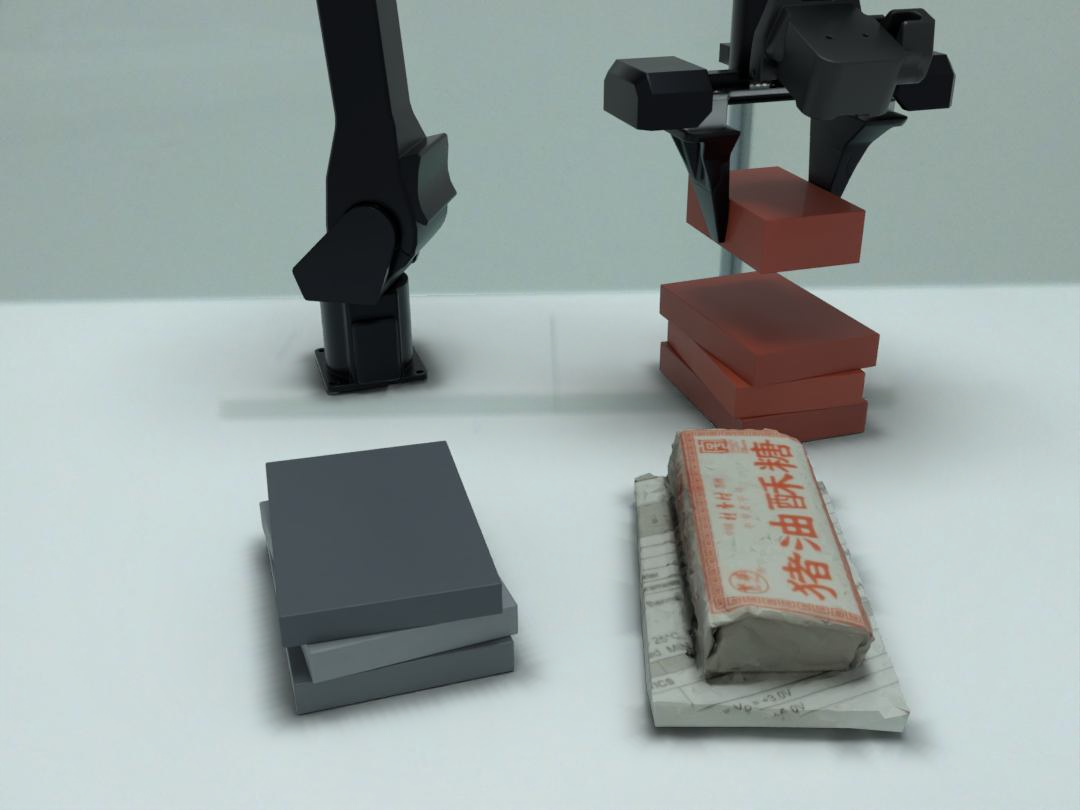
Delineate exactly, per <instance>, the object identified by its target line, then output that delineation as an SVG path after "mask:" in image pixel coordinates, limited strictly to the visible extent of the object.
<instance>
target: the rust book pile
mask: <svg viewBox="0 0 1080 810" xmlns="http://www.w3.org/2000/svg"><path fill="white" fill-rule="evenodd" d="M659 287H660V288H659V309H658V310H659V312H658V313H659V315H660V316H661V317H663V318H664V319H666V320H667V335H666V337H667V339H666V340H664V341H661V342H659V343H660V344H659V345H660V346H659V347H660V348H659V371H660V372H661V373H662V374H663V375H664V376H665V377H666V378H667V379H668V380H669V381H670V382H671V383H672V384H673V385H674V386H675V387H676V388H677V389H678V390H679V391H680V392H681V393H682V394H683V395H684V396H685V398H687V399H688V401H690V402H691V403H692V404H693V405H694V406H695V407H696V408H697V409H698V410H699V411H700V412H701V413H702V414H703V415H704V416H705V417H706V418H707V419H708V421H710V422H711V423H712V425H714V426H715V427H716V429H727V430H730V429H735V430H745V429H754V430H763V429H765V428H766V429H772V430H777V431H778V432H779V433H782V434H786V435H788V436H790V437H793V438H796V439H797V440H798V441H800V443H803V442H808V441H815V440H821V439H827V438H834V437H839V436H845V435H851V434H857V433H864V432H865V431H866V422H867V416H868V415H867V414H868V408H869V401H868V400H867V399H866V398H864V397H863V396H864V388H865V381H866V372H865V371H864V370H863V369H867V368H873V367H876V366H877V361H878V353H879V345H880V338H881V334H880V333H879V332H877V331H876V330H874V329H872V328H870V327H869V326H867V325H865V324H864V323H862V322H860V321H859V320H857V319H855V318H854V317H852V316H851V315H848V314H847V313H845V312H844V311H842V310H840V309H838V308H837V307H835V306H833V305H832V304H830V303H828V302H827V301H825V300H824V299H822V298H820V297H819V296H817V295H815V294H813V293H812V292H810V291H809V290H807V289H805V288H804V287H801V286H800V285H799V284H796V282H794V281H792V280H790V279H788V278H787V277H786V276H783V275H782V274H780V273H779V272H777V273H768V274H760V273H759V272H757V271H756V270H754V271H747V272H746V271H745V272H740V273H732V274H725V275H719V276H711V277H704V278H697V279H690V280H682V281H675V282H668V283H661V284H660V286H659Z"/></svg>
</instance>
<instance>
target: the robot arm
mask: <svg viewBox="0 0 1080 810" xmlns="http://www.w3.org/2000/svg"><path fill="white" fill-rule="evenodd" d="M315 2H316V9H317V16H318V21H319V28H320V34H321V39H322V45H323V46H322V47H323V52H324V58H325V63H326V70H327V77H328V83H329V89H330V94H331V100H332V101H331V102H332V107H333V113H334V131H333V136H332V141H331V147H330V152H329V158H328V163H327V169H326V174H325V231H326V233H325V234H324V235H323V236H322V237H321V238H320V239H319V240H318V241H317V242H316V243H315V244H314V246H313V247H311V248H310V249H309V250H308V252H306V253H305V255H303V257H302V258H301V259H299V261H298V262H297V263H296V264H295V265H294V266H293V267H292V270H291V272H292V275H293V277H294V280H295V282H296V284H297V286H298V289H299V290H300V293H301V295H302V297H303V299H304V301H307V302H319V308H320V319H321V327H322V337H323V339H322V340H323V347H318V348H316V349H314V358H315V360H316V361H315V362H316V364H317V366H318V367H317V368H318V369H319V372H320V375H321V379H322V382H323V384H324V387H325V391H326V392H328V393H340V392H349V391H355V390H363V389H371V388H377V387H378V388H380V387H387V386H393V385H401V384H408V383H416V382H423V381H425V380H427V379H428V378H429V377H428V376H429V375H428V369H427V368H426V366H425V364H424V361H422V359H421V357H420V355H419V353H418V351H417V349H416V348H415V346H414V344H413V331H412V313H411V298H410V296H411V295H410V283H409V282H410V281H409V280H410V279H409V275H408V274H407V273H406V272H405V271H406V270H407V269H408V268H409V267H411V265H412V264H414V263H416V262H417V260H418V258H419V256H420V252H421V250H422V249H423V248H424V247H425V246H426V245H427V244H428V243H429V242H430V241H431V240H432V239H433V238H434V236H435V235H436V234H437V233H438V231H439V230H440V229H441V228H442V227H443V224H444V223H445V221H446V218H447V216H448V207H449V203H450V202H452V200H453V199H454V198H455V197H456V196H457V195H458V191H457V190H456V188H455V186H454V183H453V182H452V179H451V175H450V172H449V137H448V134H447V133H446V132H440V133H435V134H433V135H432V134H431V135H429V136H427V135H426V133H425V131H424V129H423V127H422V126H421V124H420V122H419V119H418V118H417V116H416V115H415V112H414V110H413V106H412V104H411V100H410V92H409V83H408V77H407V70H406V62H405V55H404V47H403V41H402V32H401V24H400V16H399V10H398V2H397V0H315ZM730 25H731V26H730V38H729V39H730V40H729V42H720V43H719V52H718V63H721V64H723V65H726V66H728V67H727V68H728V69H727V68H726V69H712V70H708V69H707V68H705V67H704V66H700V65H697V64H695V63H692V62H691V61H687V60H685V59H682V58H680V57H678V56H675V55H666V56H650V57H649V56H648V57H633V58H632V57H631V58H617V59H615V60H614V62H613V63H612V64H611V66H610V67H609V69H608V71H607V72H606V74H605V77H604V79H603V107H602V108H603V111H604V112H606V113H607V114H609V115H611V116H613V117H615V118H616V119H618V120H619V121H622V122H623V123H625V124H626V125H628V126H630V127H631V128H634V129H635V130H638V131H648V132H659V131H664V132H666V133H668V134H669V135H670V137H671V139H672V141H673V143H674V145H675V147H676V149H677V151H678V153H679V156H680V157H681V159H682V162H683V164H684V166H685V168H686V171H687V174H688V175H689V176H690V179H691V182H692V185H693V188H694V190H695V193H696V196H697V199H698V202H699V205H700V207H701V210H702V213H703V216H704V219H705V222H706V225H707V227H708V230H709V233H710V236H711V238H712V239H713V240H714V241H715V242H714V241H713V240H712V241H713V242H714V243H716V242H717V243H724V242H725V237H726V231H727V225H728V218H729V180H730V170H731V154H732V153H733V150H734V148H735V147H736V144H737V142H738V141H739V139H740V136H741V133H742V131H741V130H739V129H737V128H735V127H732V126H731V125H729V124H727V123H728V109H729V106H734V105H736V106H737V105H748V104H749V105H750V104H760V103H761V104H763V103H775V102H789V101H794V102H795V106H796V108H797V109H798V111H799V112H800V113H801V114H803V115H804V116H806V117H808V118H810V121H809V146H808V147H809V151H808V152H809V153H808V175H807V176H808V178H807V181H808V182H810V183H812V184H814V185H816V186H818V187H820V188H822V189H824V190H826V191H828V192H830V193H832V194H834V195H836V196H838V197H840V198H842V196H843V194H844V192H845V191H846V188H847V186H848V183H849V182H850V179H851V178H852V176H853V174H854V172H855V170H856V168H857V166H858V165H859V163H860V161H861V160H862V158H863V156H864V155H865V153H866V152H867V150H868V149H869V147H870V146H871V145H872V144H873V142H875V141H876V140H877V139H879V138H880V137H882V135H884V134H886V133H887V132H888V131H890V130H891V129H893V128H896V127H897V128H898V127H903V126H904V125H905V123H906V122H907V121H908V119H909V117H908V116H907V115H906V114H903V113H901V112H900V113H899V112H897V111H895V108H896V107H895V106H896V103H897V104H898V106H899V107H900V108H901V109H902V110H904V111H907V112H917V111H932V110H946V109H950V108H951V107H952V106H953V100H954V99H953V98H954V92H955V85H956V78H957V75H956V73H955V70H954V67H953V65H952V62H951V60H950V58H949V56H948V54H946V53H944V52H939V51H935V50H934V47H935V33H936V19H935V18H934V17H933V16H932V15H931V14H930V13H929V12H928V11H926V9H925V8H922V7H915V8H895V9H891V10H889V11H888V12H887V14H886V15H884V14H867V13H864V12H863V10H862V5H861V0H732V8H731V24H730ZM717 243H716V244H717Z"/></svg>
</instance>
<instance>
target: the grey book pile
mask: <svg viewBox="0 0 1080 810" xmlns="http://www.w3.org/2000/svg"><path fill="white" fill-rule="evenodd" d="M264 466H265V476H266V477H265V478H266V487H267V499H268V500H262V501H259V504H258V505H259V512H260V519H261V528H262V531H263V534H264V537H265V542H266V548H267V555H268V559H269V565H270V570H271V576H272V582H273V588H274V593H275V598H276V608H277V609H276V610H277V620H278V627H279V628H278V629H279V634H280V635H279V636H280V643H281V647H282V648H283V649H285V655H286V660H287V665H288V671H289V675H290V676H289V677H290V682H291V688H292V695H293V700H294V704H295V710H296V714H297V715H299V716H300V715H305V714H309V713H313V712H318V711H323V710H327V709H332V708H338V707H343V706H347V705H352V704H357V703H361V702H366V701H371V700H376V699H381V698H385V697H390V696H391V697H392V696H397V695H401V694H405V693H406V694H407V693H411V692H415V691H420V690H425V689H430V688H434V687H435V688H436V687H439V686H445V685H449V684H454V683H460V682H464V681H468V680H474V679H478V678H483V677H488V676H492V675H497V674H503V673H507V672H512V671H515V642H514V640H513V637H512V636H515V635H517V634H518V633H519V611H518V604H517V601H516V600H515V599H514V597H513V596H512V594H511V592H510V590H509V589H508V588H507V585H506V584H505V582H504V581H503V580H502V578H501V576H500V574H499V573H498V570H497V568H496V565H495V562H494V560H493V557H492V555H491V551H490V550H489V547H488V544H487V542H486V540H485V537H484V534H483V532H482V528H481V526H480V524H479V520H478V519H477V516H476V514H475V511H474V509H473V506H472V504H471V500H470V499H469V496H468V493H467V491H466V489H465V485H464V483H463V480H462V477H461V474H460V473H459V471H458V470H459V469H458V467H457V465H456V463H455V460H454V457H453V455H452V452H451V449H450V447H449V443H448V442H447V440H438V441H430V442H421V443H414V444H406V445H398V446H390V447H382V448H381V447H380V448H374V449H365V450H356V451H349V452H342V453H341V452H340V453H333V454H324V455H317V456H315V455H314V456H310V457H308V456H307V457H301V458H300V457H299V458H291V459H284V460H277V461H276V460H275V461H269V462H268V461H267V462H265V465H264Z"/></svg>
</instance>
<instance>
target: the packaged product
mask: <svg viewBox="0 0 1080 810" xmlns="http://www.w3.org/2000/svg"><path fill="white" fill-rule="evenodd" d="M633 483H634V485H633V496H634V501H635V505H636V524H637V525H636V526H637V529H636V530H637V550H638V551H637V553H638V561H639V563H638V564H639V594H640V612H641V624H642V625H641V626H642V640H643V652H644V654H643V655H644V667H645V681H646V689H647V695H648V700H649V704H650V708H651V713H652V714H651V715H652V719H653V724H654V727H655V728H656V727H657V728H659V727H661V728H664V727H667V728H670V727H671V728H672V727H675V728H677V727H681V728H682V727H683V728H685V727H686V728H687V727H688V728H689V727H692V728H693V727H699V728H703V727H713V728H714V727H715V728H716V727H717V728H718V727H719V728H721V727H726V728H727V727H729V728H730V727H731V728H732V727H733V728H734V727H736V728H737V727H739V728H740V727H741V728H742V727H744V728H745V727H747V728H748V727H749V728H750V727H752V728H759V727H760V728H820V729H821V728H824V729H825V728H826V729H829V728H830V729H858V730H868V731H869V730H870V731H881V732H882V731H883V732H893V733H903V732H904V730H905V728H906V725H907V723H908V719H909V717H910V715H911V711H910V709H909V706H908V704H907V703H906V700H905V698H904V694H903V691H902V689H901V685H900V680H899V677H898V674H897V672H896V670H895V668H894V667H895V666H894V665H893V662H892V661H891V658H890V656H889V655H888V652H887V649H886V646H885V643H884V641H883V638H882V635H881V632H880V628H879V626H878V623H877V621H876V617H875V615H874V612H873V610H872V607H871V603H870V601H869V599H868V596H867V594H866V591H865V588H864V586H863V581H862V579H861V576H860V574H859V571H858V568H857V567H856V566H855V565H854V564H853V563H852V561H851V551H850V549H849V546H848V544H847V541H846V538H845V536H844V532H843V531H842V529H841V526H840V524H839V522H838V518H837V514H836V512H835V508H834V507H833V503H832V501H831V498H830V496H829V493H828V489H827V488H826V485H825V483H824V481H823V480H819V481H817V479H816V475H815V472H814V468H813V466H812V464H811V461H810V458H809V457H808V452H807V450H806V448H805V446H804V445H803V444H802V442H800V441H798V440H797V439H796V438H793V437H790V436H788V435H786V434H782V433H779V432H778V431H777V430H772V429H766V428H765V429H763V430H754V429H745V430H735V429H730V430H727V429H718V428H706V429H704V428H703V429H691V428H689V429H681V430H678V431H676V433H675V437H674V441H673V443H672V444H671V453H670V455H669V458H668V463H667V474H666V475H665V476H663V475H656V474H655V475H654V474H652V473H651V472H647V473H644V474H642V475H639V476H637V477H634V481H633Z"/></svg>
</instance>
